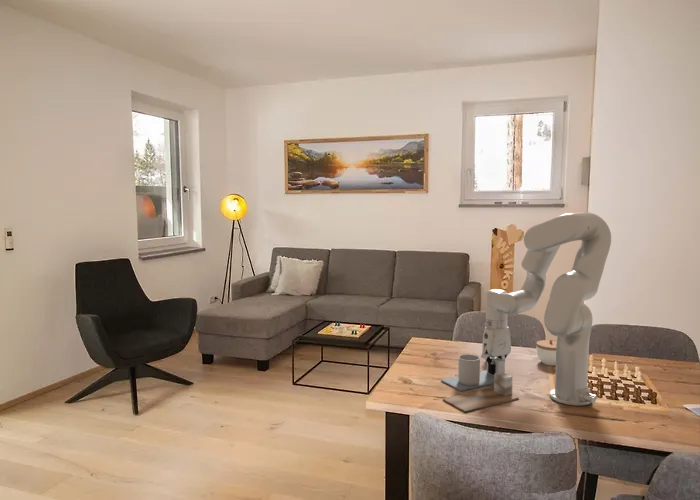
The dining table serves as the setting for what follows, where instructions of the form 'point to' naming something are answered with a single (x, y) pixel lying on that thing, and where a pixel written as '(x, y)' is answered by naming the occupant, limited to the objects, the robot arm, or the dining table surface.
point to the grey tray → (484, 377)
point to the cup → (469, 369)
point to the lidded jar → (547, 351)
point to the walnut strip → (485, 395)
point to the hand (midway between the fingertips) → (495, 372)
